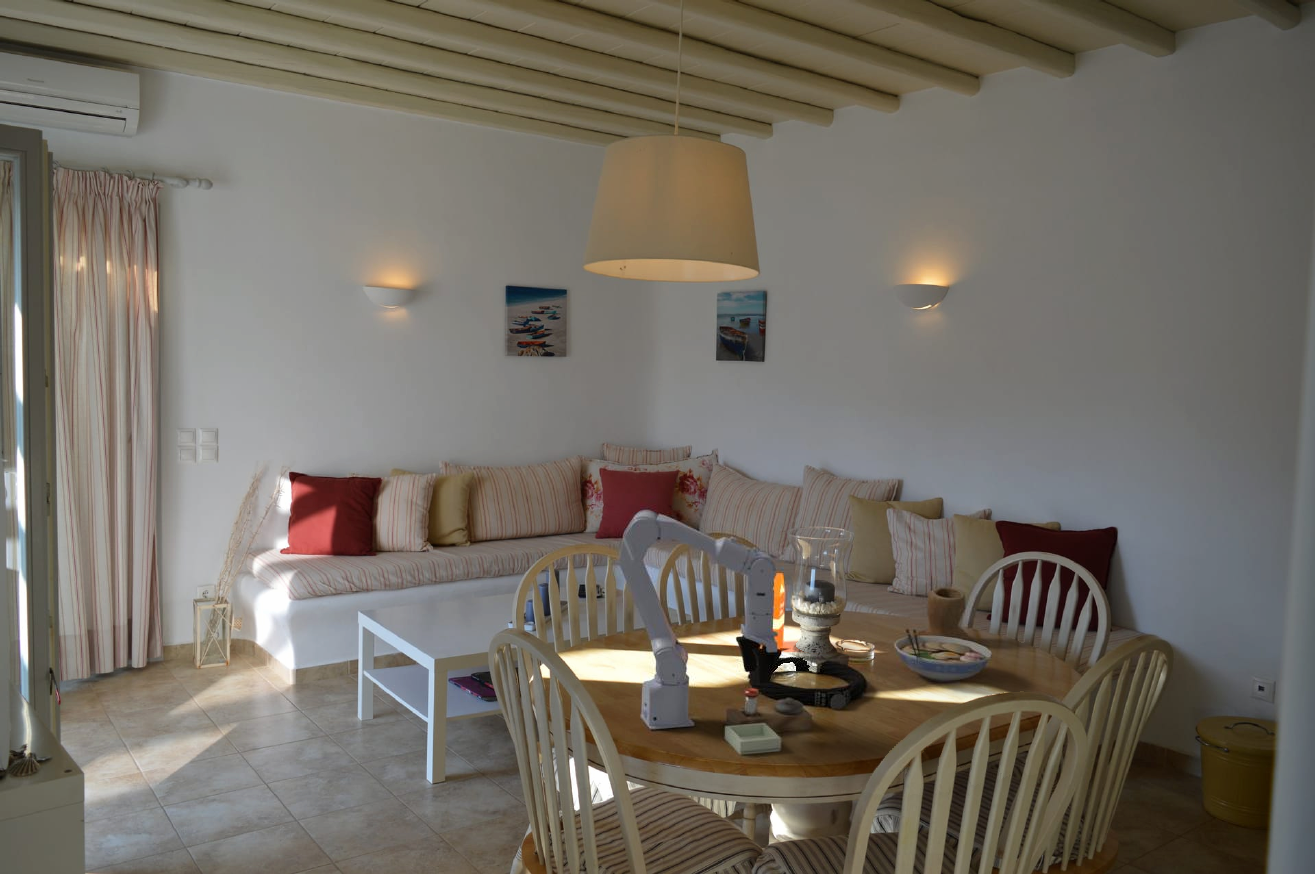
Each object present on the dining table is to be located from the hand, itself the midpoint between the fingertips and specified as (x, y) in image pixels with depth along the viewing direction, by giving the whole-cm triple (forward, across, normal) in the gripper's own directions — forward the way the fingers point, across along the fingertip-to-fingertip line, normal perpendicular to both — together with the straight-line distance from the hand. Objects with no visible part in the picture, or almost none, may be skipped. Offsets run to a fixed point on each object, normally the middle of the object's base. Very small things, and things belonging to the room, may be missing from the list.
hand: (757, 676), depth 203 cm
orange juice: (+10, +54, -25) cm, 60 cm away
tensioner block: (+10, -1, -3) cm, 11 cm away
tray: (+10, -9, +4) cm, 15 cm away
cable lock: (+11, +20, -22) cm, 31 cm away
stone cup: (+10, +47, -76) cm, 90 cm away
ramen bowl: (+10, +19, -57) cm, 61 cm away
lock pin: (+10, -1, +1) cm, 10 cm away
